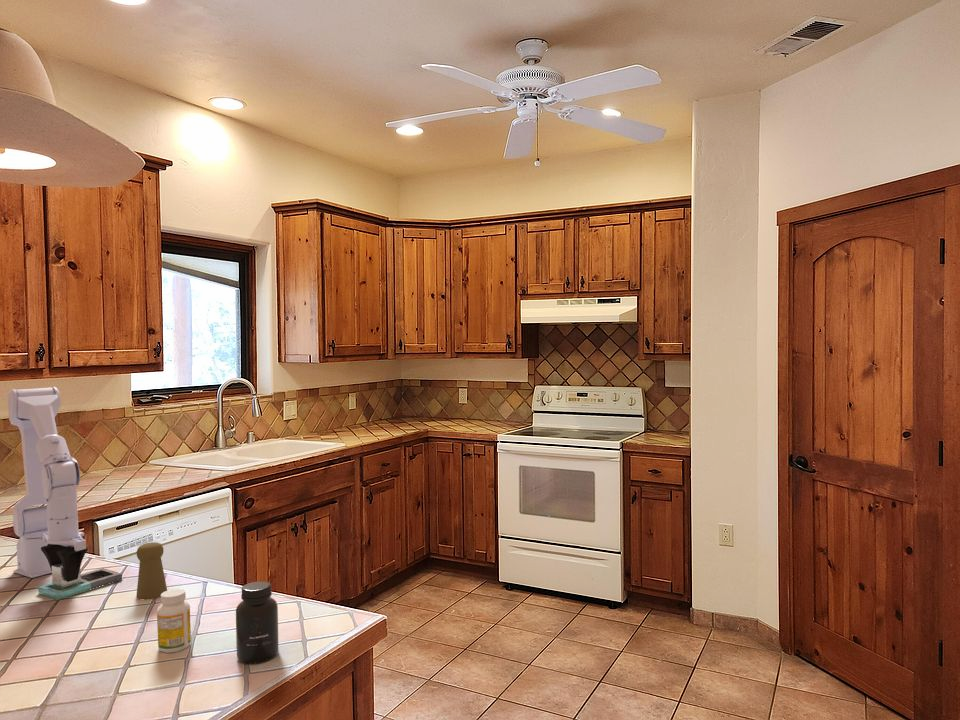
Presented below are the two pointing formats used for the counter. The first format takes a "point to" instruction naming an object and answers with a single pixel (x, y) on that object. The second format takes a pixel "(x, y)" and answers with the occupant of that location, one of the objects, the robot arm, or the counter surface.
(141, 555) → the cork
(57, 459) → the robot arm
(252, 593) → the supplement bottle
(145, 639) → the counter surface
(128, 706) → the counter surface
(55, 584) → the beige rectangular block
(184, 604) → the supplement bottle
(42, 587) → the grey teal tray
